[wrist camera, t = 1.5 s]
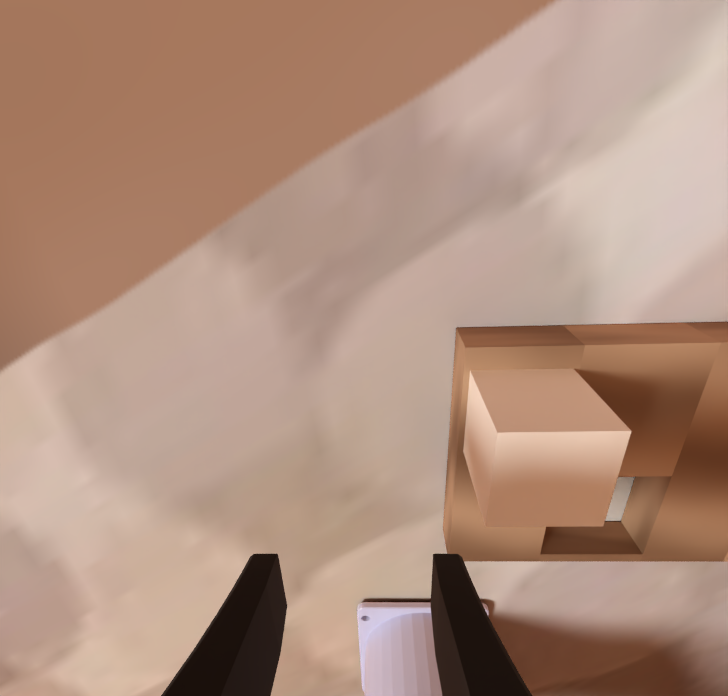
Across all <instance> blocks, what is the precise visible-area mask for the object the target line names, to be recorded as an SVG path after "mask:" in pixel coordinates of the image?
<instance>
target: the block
mask: <svg viewBox="0 0 728 696" xmlns="http://www.w3.org/2000/svg"><path fill="white" fill-rule="evenodd" d="M630 435H631V430H630V429H629V428H628V427H627V426H626V425H625V423H624V422H623V421H622V420H621V419H620V418H619V417H618V416H617V415H616V414H615V413H614V412H613V411H612V409H611V408H610V407H609V406H608V405H607V404H606V403H605V402H604V401H603V400H602V399H601V398H600V397H599V395H598V394H597V393H596V392H595V391H594V390H593V389H592V388H591V387H590V386H589V385H588V384H587V383H586V381H585V380H584V379H583V378H582V377H581V376H580V375H579V374H578V373H577V372H576V371H575V370H574V369H525V370H470V378H469V390H468V401H467V413H466V425H465V436H464V448H463V452H464V456H465V459H466V463H467V466H468V469H469V473H470V476H471V479H472V483H473V486H474V490H475V493H476V496H477V500H478V503H479V507H480V510H481V513H482V517H483V520H484V524H485V527H579V526H603V525H604V522H605V519H606V515H607V512H608V509H609V505H610V502H611V499H612V495H613V492H614V488H615V485H616V482H617V478H618V475H619V472H620V468H621V465H622V461H623V458H624V455H625V451H626V448H627V445H628V441H629V438H630Z"/></svg>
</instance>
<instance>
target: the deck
mask: <svg viewBox="0 0 728 696" xmlns="http://www.w3.org/2000/svg"><path fill="white" fill-rule="evenodd" d="M525 369H574V370H575V371H576V372H577V373H578V374H579V375H580V376H581V377H582V378H583V379H584V380H585V381H586V383H587V384H588V385H589V386H590V387H591V388H592V389H593V390H594V391H595V392H596V393H597V394H598V395H599V397H600V398H601V399H602V400H603V401H604V402H605V403H606V404H607V405H608V406H609V407H610V408H611V409H612V411H613V412H614V413H615V414H616V415H617V416H618V417H619V418H620V419H621V420H622V421H623V422H624V423H625V425H626V426H627V427H628V428H629V429H630V430H631V435H630V438H629V441H628V445H627V448H626V451H625V455H624V458H623V461H622V465H621V468H620V472H619V475H618V477H635V479H634V483H633V486H632V489H631V492H630V495H629V498H628V501H627V504H626V508H625V511H624V514H623V517H622V520H621V522H604V525H603V526H579V527H485V524H484V520H483V517H482V513H481V510H480V507H479V503H478V500H477V496H476V493H475V490H474V486H473V483H472V479H471V476H470V473H469V469H468V466H467V463H466V459H465V456H464V452H463V448H464V436H465V425H466V413H467V401H468V390H469V378H470V370H525ZM443 531H444V537H445V543H446V548H447V554H459V555H460V556H461V557H462V558H463V561H728V322H702V323H656V324H610V325H564V326H517V327H471V328H456V340H455V355H454V370H453V385H452V401H451V416H450V431H449V446H448V461H447V476H446V491H445V506H444V521H443Z"/></svg>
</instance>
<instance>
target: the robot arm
mask: <svg viewBox="0 0 728 696" xmlns="http://www.w3.org/2000/svg"><path fill="white" fill-rule="evenodd" d="M286 610H287V603H286V597H285V592H284V586H283V581H282V575H281V569H280V564H279V558H278V554H253V555H252V556H251V557H250V558H249V560H248V562H247V564H246V566H245V568H244V569H243V571H242V573H241V575H240V576H239V578H238V580H237V582H236V583H235V585H234V587H233V588H232V590H231V592H230V594H229V595H228V597H227V598H226V600H225V602H224V603H223V605H222V607H221V608H220V610H219V611H218V613H217V615H216V616H215V618H214V619H213V621H212V622H211V624H210V625H209V627H208V629H207V630H206V632H205V633H204V635H203V636H202V638H201V639H200V641H199V642H198V644H197V645H196V647H195V648H194V650H193V651H192V653H191V654H190V656H189V657H188V659H187V660H186V662H185V663H184V664H183V666H182V667H181V669H180V670H179V671H178V673H177V674H176V676H175V677H174V678H173V680H172V681H171V683H170V684H169V686H168V687H167V688H166V690H165V691H164V693H163V694H162V695H161V696H270V695H271V691H272V686H273V682H274V678H275V674H276V669H277V665H278V661H279V656H280V652H281V645H282V638H283V632H284V624H285V617H286ZM357 617H358V632H359V647H360V662H361V677H362V689H363V691H364V692H365V696H532V695H531V693H530V691H529V690H528V688H527V686H526V685H525V683H524V681H523V680H522V678H521V676H520V674H519V673H518V671H517V669H516V667H515V666H514V664H513V662H512V660H511V658H510V657H509V655H508V653H507V651H506V649H505V647H504V645H503V644H502V642H501V640H500V638H499V636H498V634H497V632H496V631H495V629H494V627H493V625H492V623H491V621H490V619H489V610H488V606H487V605H486V604H484V603H481V600H480V598H479V596H478V594H477V592H476V590H475V588H474V585H473V583H472V581H471V578H470V576H469V574H468V571H467V569H466V566H465V564H464V561H463V558H462V557H461V556H460V555H459V554H433V571H432V589H431V602H362V603H360V604H359V605H358V607H357Z"/></svg>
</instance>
